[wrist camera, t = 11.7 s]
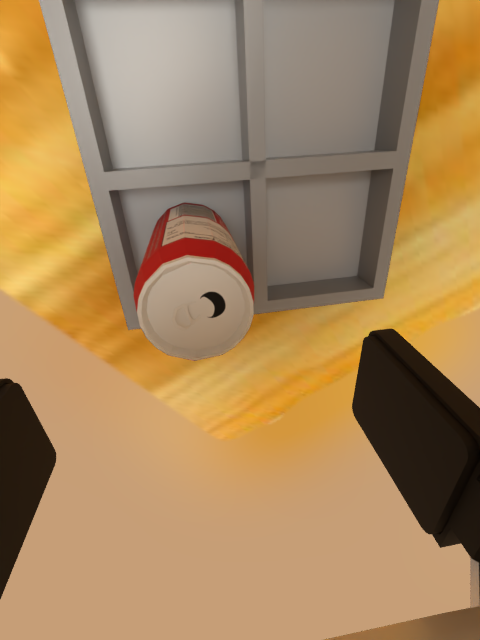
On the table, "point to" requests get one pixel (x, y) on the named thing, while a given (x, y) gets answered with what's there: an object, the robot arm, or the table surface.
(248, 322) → the soda can
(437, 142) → the table surface
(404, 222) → the table surface
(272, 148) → the drink carrier
